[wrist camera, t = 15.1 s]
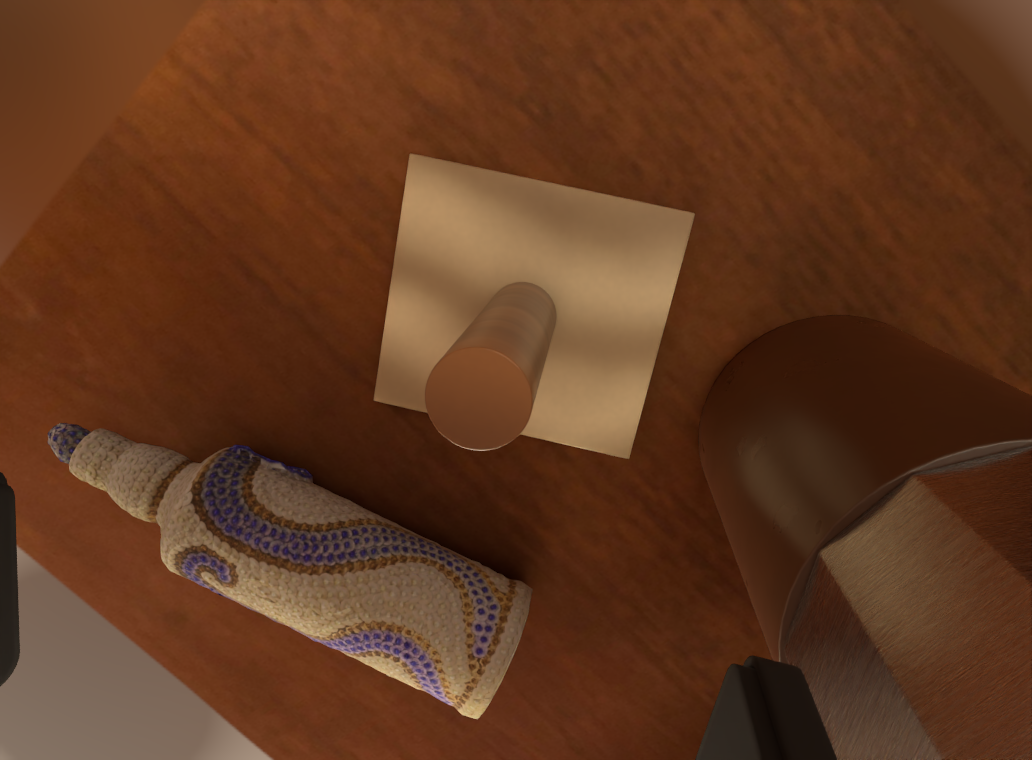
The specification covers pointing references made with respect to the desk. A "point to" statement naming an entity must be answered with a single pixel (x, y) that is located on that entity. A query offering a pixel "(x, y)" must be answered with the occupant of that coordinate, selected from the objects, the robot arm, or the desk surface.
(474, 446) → the stick
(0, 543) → the robot arm
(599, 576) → the desk surface
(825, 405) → the tin
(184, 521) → the decorative bottle
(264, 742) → the desk surface
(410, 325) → the board
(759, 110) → the desk surface
